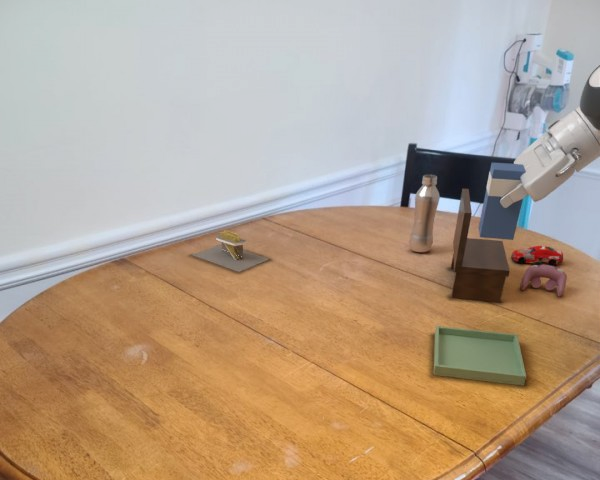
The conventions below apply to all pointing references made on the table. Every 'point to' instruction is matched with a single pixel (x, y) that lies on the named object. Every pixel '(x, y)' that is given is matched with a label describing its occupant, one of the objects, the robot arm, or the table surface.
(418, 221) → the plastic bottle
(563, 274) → the video game controller
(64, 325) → the table surface
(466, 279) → the wooden toy chair
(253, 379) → the table surface
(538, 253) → the race car
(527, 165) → the robot arm
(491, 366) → the tray
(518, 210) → the box
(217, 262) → the platform
